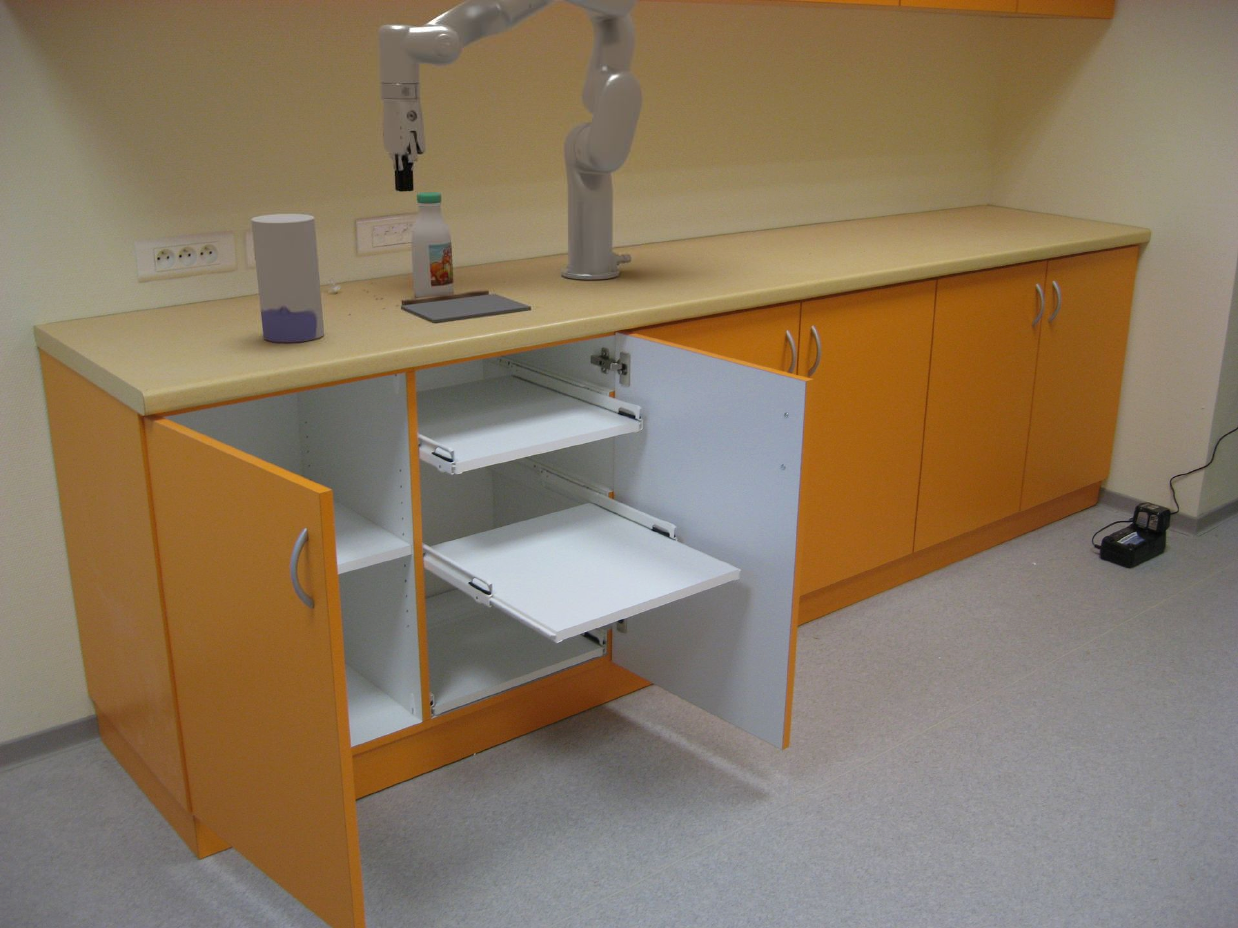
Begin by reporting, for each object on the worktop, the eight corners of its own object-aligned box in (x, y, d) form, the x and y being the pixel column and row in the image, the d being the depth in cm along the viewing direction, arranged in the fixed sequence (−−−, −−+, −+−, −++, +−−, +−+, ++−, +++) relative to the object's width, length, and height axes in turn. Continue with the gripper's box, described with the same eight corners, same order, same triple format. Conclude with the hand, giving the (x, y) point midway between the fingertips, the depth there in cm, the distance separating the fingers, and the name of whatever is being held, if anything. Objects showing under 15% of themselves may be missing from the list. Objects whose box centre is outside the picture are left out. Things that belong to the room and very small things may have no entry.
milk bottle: (416, 302, 222) (410, 196, 215) (412, 294, 229) (406, 191, 222) (456, 299, 224) (451, 195, 217) (451, 292, 231) (446, 190, 224)
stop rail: (485, 295, 228) (485, 289, 227) (488, 296, 227) (488, 290, 226) (401, 306, 218) (401, 300, 218) (404, 307, 217) (404, 301, 217)
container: (329, 329, 201) (319, 213, 194) (317, 343, 191) (306, 221, 184) (271, 329, 200) (259, 213, 193) (256, 343, 191) (243, 221, 184)
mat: (495, 296, 227) (494, 293, 226) (531, 309, 216) (531, 306, 216) (401, 309, 216) (400, 305, 216) (434, 323, 205) (433, 320, 205)
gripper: (435, 95, 217) (438, 194, 223) (402, 91, 229) (406, 186, 235) (398, 95, 213) (402, 196, 219) (366, 92, 225) (371, 188, 231)
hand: (404, 190), depth 227 cm, fingers closed
